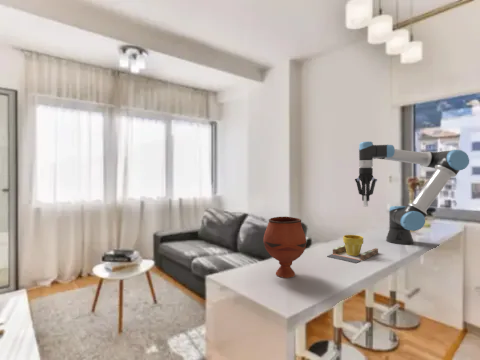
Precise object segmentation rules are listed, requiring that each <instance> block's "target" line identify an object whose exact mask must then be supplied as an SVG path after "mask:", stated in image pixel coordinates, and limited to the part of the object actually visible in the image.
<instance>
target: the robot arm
mask: <svg viewBox="0 0 480 360" xmlns="http://www.w3.org/2000/svg"><path fill="white" fill-rule="evenodd" d="M373 143H374V142H372V141H361V142H359V145H358V146H359V147H358V153H359V154H358V155H359V156H358V157H359V158H358V159H359V161H358V167H359V169H358V174H359V175H358V177H357V178H355V179H354V182H355V183H356V187H357V191H358V195H361V200H362V202H363V207H369V202H370V196H372V195H373V194H374V190H375V187H376V183H377V181H378V179H377V178H375V177H374V176H373V175H374V174H373V173H374V172H373V165H374V163H373V162H374V161H373V160H375V159H377V160H378V159H379V160H387V161H394V162H401V163H408V164H414V165H415V164H416V165H420V166H421V165H422V166H424V167H425V168H431V169H435V170H434V172H433V173H432V175H430V177H429V178H428V180H427V181H426V183H425V184H424V186H423V187H422V188H421V190H420V191H419V192H418V194H417V195H416V197H415V198H414V199H413V201H412V202H410V203H407V204H406V205H394V206H393V205H391V206H390V207H389V210H388V212H389V217H388V218H389V225H388V226H389V229H388V232H387V235H386V242H389V243H391V244H397V245H411V244H414V238H413V236H412V233H411V231H413V232H414V231H419V230H421V229H423V227H424V226H425V224H426V217H427V216H428V213H427V210H428V209H429V208H430V207H431V205H432V204H433V203H434V201H435V200H436V199H437V197H438V195H440V193H441V192H442V190H443V189H444V188H445V186H446V185H447V183H448V182H449V180H450V179H451V178H453V177H456V176H458V174H459V172H460V171H463V170H464V169H466V168H467V167H468V166H469V164H470V157H469V155H468V154H467V152H466V151H464V150H461V149H450V150H445V151H443V150H442V151H426V152H421V151H411V150H406V149H405V150H404V149H398V148H395V146H394V145H393V144H373Z"/></svg>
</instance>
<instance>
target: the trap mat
mask: <svg viewBox="0 0 480 360" xmlns="http://www.w3.org/2000/svg"><path fill="white" fill-rule="evenodd" d="M326 258H331V259H336V260H339V261H345V262H348V263H349V262H350V263H353V264H357V263H359V262H361V261H362V260H360V258H354V257H349V256H346V255H340V254H333V253H331V254H329V255H327V257H326Z"/></svg>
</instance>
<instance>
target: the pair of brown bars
mask: <svg viewBox="0 0 480 360" xmlns="http://www.w3.org/2000/svg"><path fill="white" fill-rule="evenodd" d="M345 251H346V248H345V244H343V245H340V246H337V247H334V248H332V254H336V255H339V254H340V253H342V252H345ZM378 253H379V248H377V247H375V248H373V249H370V250H367V251H365V252H363V253H361V254H360V255H359V257H360V258H359V259H360V260H361V261H365V260H368V259H369V258H371V257H373V256H375V255H378Z"/></svg>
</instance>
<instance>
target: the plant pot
mask: <svg viewBox="0 0 480 360" xmlns="http://www.w3.org/2000/svg"><path fill="white" fill-rule="evenodd" d="M342 241H343V244H344V245H345V248H346V250H345V251H346V255H348V256H351V257H352V256H353V257H359V256H360V255H361V254H360V253H361V251H362V245H363V244H364V236H362V235H356V234H345V235H343V236H342Z"/></svg>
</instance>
